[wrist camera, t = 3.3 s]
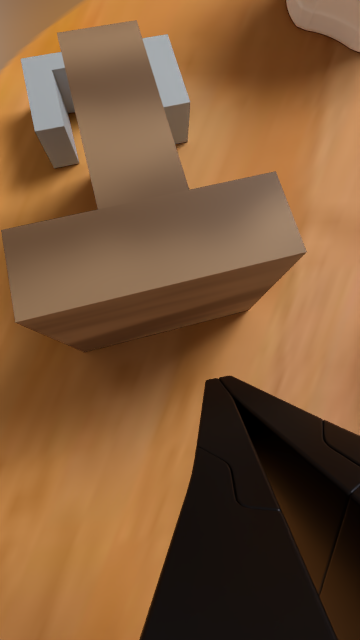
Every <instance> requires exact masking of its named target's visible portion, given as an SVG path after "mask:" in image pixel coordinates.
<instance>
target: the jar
mask: <svg viewBox="0 0 360 640" xmlns="http://www.w3.org/2000/svg"><path fill="white" fill-rule="evenodd" d="M286 3H287V9H288V12H289V15H290V17H291V19H292V20H293V22H294V24H295V25H296V26H297V27H299V28H302V29H304V30H307V31H313V32H317V33H320V34H324V35H326V36H329V37H331V38H333V39H335V40H337V41H339V42H341V43H342V44H344V45H346V46H347V47H348V48H350V49H352V50H355V51H357V52H360V0H286Z"/></svg>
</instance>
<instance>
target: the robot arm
mask: <svg viewBox="0 0 360 640" xmlns="http://www.w3.org/2000/svg"><path fill="white" fill-rule="evenodd" d="M140 640H360V436H359V435H357V434H354V433H352V432H350V431H348V430H345V429H343V428H341V427H339V426H337V425H335V424H332V423H330V422H328V421H326V420H324V421H323V420H322V419H321V418H319V417H317V416H315V415H312V414H310V413H308V412H306V411H304V410H302V409H300V408H298V407H296V406H294V405H291V404H289V403H287V402H285V401H283V400H281V399H279V398H277V397H275V396H273V395H270V394H268V393H266V392H264V391H262V390H260V389H258V388H256V387H254V386H252V385H249V384H247V383H245V382H243V381H241V380H239V379H237V378H235V377H233V376H225V377H220V378H219V379H218V378H214V379H209V380H206V382H205V389H204V396H203V403H202V411H201V418H200V425H199V432H198V439H197V447H196V452H195V459H194V464H193V470H192V475H191V478H190V482H189V486H188V489H187V493H186V496H185V499H184V502H183V505H182V508H181V512H180V515H179V518H178V521H177V524H176V527H175V530H174V533H173V537H172V540H171V543H170V546H169V549H168V552H167V555H166V558H165V562H164V565H163V568H162V571H161V574H160V577H159V580H158V583H157V586H156V590H155V593H154V596H153V599H152V602H151V605H150V608H149V611H148V615H147V618H146V621H145V624H144V627H143V630H142V633H141V636H140Z"/></svg>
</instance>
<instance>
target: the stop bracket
mask: <svg viewBox="0 0 360 640" xmlns="http://www.w3.org/2000/svg"><path fill="white" fill-rule="evenodd" d="M142 39H143V43H144V46H145V49H146V52H147V55H148V59H149V62H150V65H151V68H152V72H153V75H154V78H155V81H156V84H157V88H158V91H159V94H160V97H161V101H162V104H163V107H164V110H165V113H166V117H167V120H168V123H169V126H170V130H171V133H172V136H173V139H174V142H175V144H178V143H183V142H187V141H188V127H189V113H190V100H189V97H188V94H187V91H186V88H185V85H184V82H183V79H182V76H181V73H180V70H179V67H178V64H177V61H176V58H175V55H174V52H173V49H172V46H171V43H170V40H169V37H168V34H166V35H160V36H154V37H148V38H142ZM21 63H22V68H23V73H24V78H25V83H26V88H27V94H28V99H29V104H30V109H31V114H32V119H33V125H34V130H35V133H36V135H37V137H38V138H39V140H40V142H41V144H42V146H43V148H44V150H45V152H46V154H47V156H48V157H49V159H50V161H51V163H52V165H53V167H54V168H58V167H63V166H68V165H73V164H78V163H79V160H78V156H77V151H76V147H75V142H74V138H73V133H72V129H71V125H70V120H69V116H68V113H72V112H75V109H74V104H73V100H72V96H71V92H70V87H69V83H68V79H67V74H66V70H65V66H64V61H63V57H62V53H61V52H58V53H52V54H46V55H40V56H34V57H28V58H22V59H21Z"/></svg>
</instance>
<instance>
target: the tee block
mask: <svg viewBox="0 0 360 640" xmlns="http://www.w3.org/2000/svg"><path fill="white" fill-rule="evenodd" d="M57 36H58V40H59V44H60V49H61V53H62V57H63V61H64V66H65V70H66V74H67V79H68V83H69V87H70V92H71V96H72V100H73V104H74V109H75V113H76V117H77V122H78V126H79V130H80V135H81V139H82V143H83V148H84V152H85V156H86V160H87V165H88V169H89V173H90V178H91V182H92V186H93V191H94V195H95V199H96V203H97V208H98V210H93V211H88V212H84V213H79V214H74V215H70V216H65V217H60V218H56V219H51V220H46V221H42V222H37V223H32V224H28V225H23V226H18V227H14V228H9V229H4V230H1V232H2V238H3V245H4V251H5V258H6V265H7V271H8V278H9V284H10V291H11V297H12V304H13V310H14V317H15V322H16V323H18V324H20V325H23V326H25V327H27V328H29V329H32V330H34V331H36V332H39V333H41V334H43V335H46V336H48V337H50V338H53V339H55V340H57V341H60V342H62V343H64V344H67V345H69V346H71V347H74V348H76V349H78V350H81V351H83V352H87V351H91V350H95V349H99V348H102V347H106V346H110V345H114V344H118V343H122V342H126V341H130V340H134V339H138V338H142V337H145V336H149V335H153V334H157V333H161V332H165V331H169V330H173V329H177V328H181V327H185V326H188V325H192V324H196V323H200V322H204V321H208V320H212V319H216V318H220V317H224V316H228V315H231V314H235V313H239V312H243V311H247V310H249V309H250V308H251V307H252V306H253V305H254V304H255V303H256V302H257V301H258V300H259V299H260V298H261V297H262V296H263V295H264V294H265V293H266V292H267V291H268V290H269V289H270V288H271V287H272V286H273V285H274V284H275V283H276V282H277V281H278V280H279V279H280V278H281V277H282V276H283V275H284V274H285V273H286V272H287V271H288V270H289V269H290V268H291V267H292V266H293V265H294V264H295V263H296V262H297V261H298V260H299V259H300V258H301V257H302V256H303V255H304V254H305V253H306V252H307V251H306V249H305V246H304V243H303V241H302V238H301V236H300V233H299V230H298V228H297V225H296V223H295V220H294V218H293V215H292V212H291V210H290V207H289V205H288V202H287V199H286V197H285V194H284V192H283V189H282V186H281V184H280V181H279V179H278V176H277V174H276V171H275V172H271V173H266V174H261V175H257V176H252V177H247V178H243V179H238V180H233V181H228V182H224V183H219V184H214V185H210V186H205V187H200V188H196V189H191V190H189V188H188V184H187V181H186V178H185V175H184V171H183V168H182V165H181V162H180V159H179V155H178V152H177V149H176V146H175V142H174V139H173V136H172V133H171V130H170V126H169V123H168V120H167V117H166V113H165V110H164V107H163V104H162V101H161V97H160V94H159V91H158V88H157V84H156V81H155V78H154V75H153V72H152V68H151V65H150V62H149V59H148V55H147V52H146V49H145V46H144V43H143V39H142V36H141V33H140V30H139V26H138V23H137V20H135V21H129V22H123V23H116V24H110V25H104V26H98V27H91V28H85V29H79V30H72V31H66V32H60V33H57Z"/></svg>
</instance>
